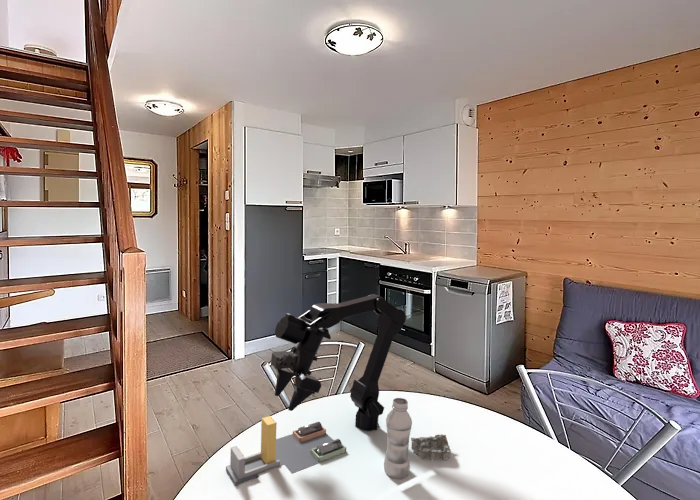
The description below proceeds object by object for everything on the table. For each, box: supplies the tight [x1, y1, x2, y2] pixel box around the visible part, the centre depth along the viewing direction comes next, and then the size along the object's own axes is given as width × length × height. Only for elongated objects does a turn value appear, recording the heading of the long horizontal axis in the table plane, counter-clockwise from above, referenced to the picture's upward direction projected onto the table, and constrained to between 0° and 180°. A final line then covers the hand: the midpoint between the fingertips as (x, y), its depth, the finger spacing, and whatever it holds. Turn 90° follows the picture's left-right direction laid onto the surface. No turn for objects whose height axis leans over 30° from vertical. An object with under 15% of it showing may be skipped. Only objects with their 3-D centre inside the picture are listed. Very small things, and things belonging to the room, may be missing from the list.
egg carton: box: [410, 433, 452, 461], centre depth 114 cm, size 11×8×4 cm
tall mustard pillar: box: [260, 415, 277, 464], centre depth 105 cm, size 2×4×11 cm, turn 35°
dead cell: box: [297, 421, 323, 437], centre depth 119 cm, size 7×3×3 cm, turn 125°
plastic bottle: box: [383, 397, 413, 480], centre depth 103 cm, size 6×7×20 cm
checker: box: [225, 425, 348, 486], centre depth 109 cm, size 30×16×6 cm, turn 125°
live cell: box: [316, 438, 343, 457], centre depth 110 cm, size 7×3×3 cm, turn 125°
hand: (282, 402), depth 108 cm, fingers open, 9 cm apart
